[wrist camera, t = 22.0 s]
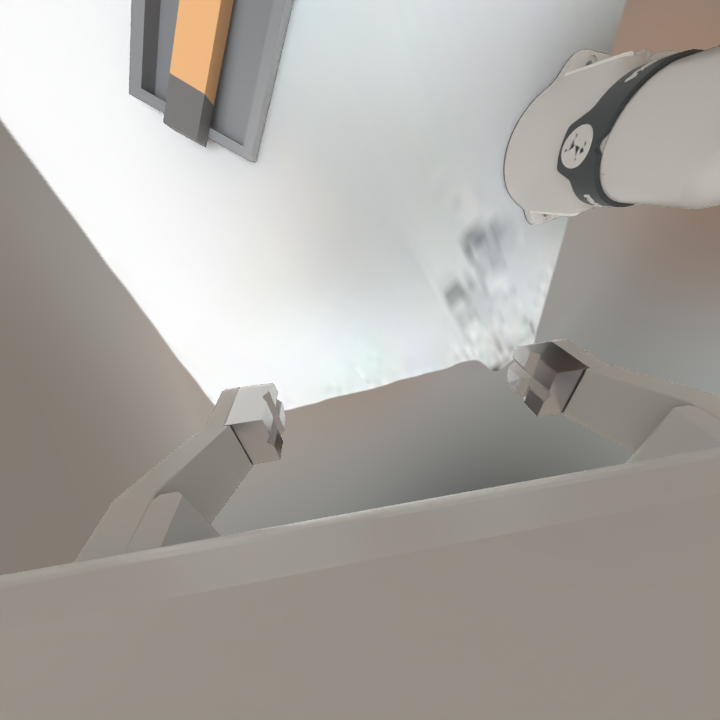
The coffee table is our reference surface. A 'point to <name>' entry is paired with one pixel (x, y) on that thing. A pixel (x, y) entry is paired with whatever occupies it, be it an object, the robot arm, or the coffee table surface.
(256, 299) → the coffee table surface
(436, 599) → the robot arm
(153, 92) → the tray
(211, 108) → the marker
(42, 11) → the coffee table surface
